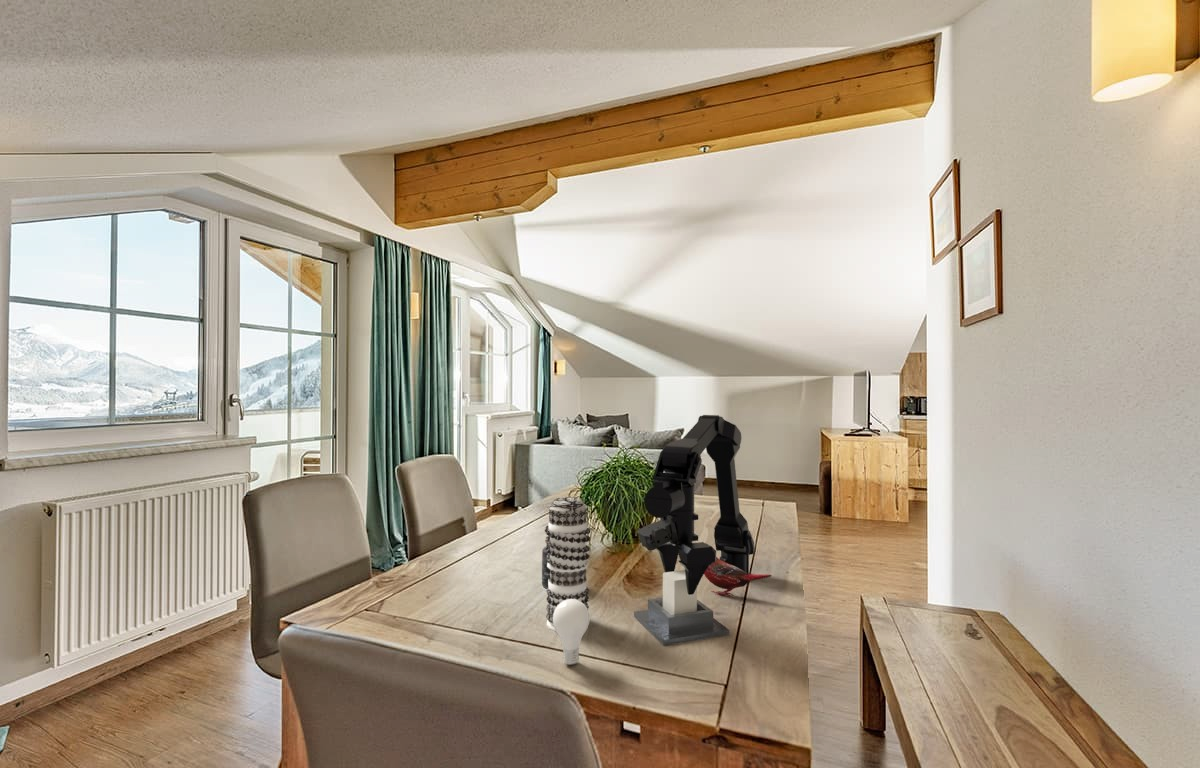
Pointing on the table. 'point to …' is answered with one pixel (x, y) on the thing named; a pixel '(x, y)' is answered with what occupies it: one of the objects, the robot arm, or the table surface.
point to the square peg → (677, 594)
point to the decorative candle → (566, 553)
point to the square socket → (679, 623)
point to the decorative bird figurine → (728, 576)
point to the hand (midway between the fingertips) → (679, 586)
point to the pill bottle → (545, 568)
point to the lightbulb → (571, 627)
